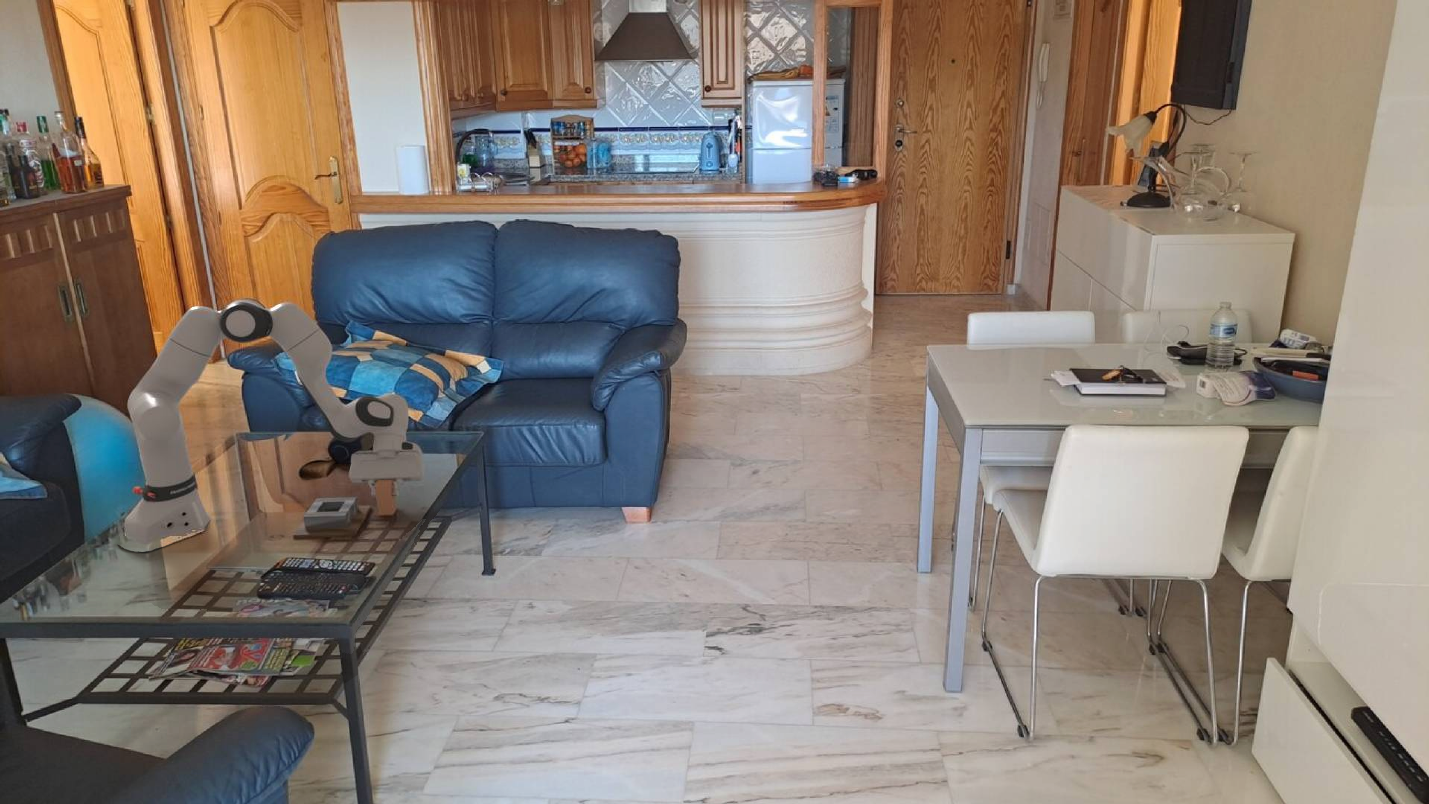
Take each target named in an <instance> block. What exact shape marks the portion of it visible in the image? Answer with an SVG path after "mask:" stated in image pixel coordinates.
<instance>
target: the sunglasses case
mask: <svg viewBox="0 0 1429 804" xmlns="http://www.w3.org/2000/svg"><path fill="white" fill-rule="evenodd" d="M337 464H338V462H336V461H334V460H333V459H332V458H331V457H330V455H329V453H328V447H325V446H324V445H322V446H321V447H320V449H318V450H317V451H316V452H315V453H314V454H313V455H312V456H311V457H310V458H309V459H308V460H307V461H306V462H305V463H304V464H303V465H302V466H301V467H300V469H299V470H298V476H299V477H300V479H308V478H309V479H310V478H314V479H315V478H327V477H328V475H329V473H330V472H331V471H332V470H333V469H334V468H335V466H337Z"/></svg>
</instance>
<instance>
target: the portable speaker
mask: <svg viewBox="0 0 1429 804" xmlns="http://www.w3.org/2000/svg"><path fill="white" fill-rule="evenodd" d="M373 443H374V434H373V433H371V432H368V433H366V434H364V435H362V436H361V437H359V438H358V439H356V440H355V441H352V442H343V441H340V440H338V439H336V438H335V437H334V436H333V437H332V438H331V439H330V441H329V442H328V445H327V448H328V453H329V455H330V457H331V458H332V459H333V460H334V461H336V462H338V463H339V464H351V456H352V454H354V453H355V452H357V451H359V450H362V451H366V450H371V449H373ZM338 463H337V464H338Z"/></svg>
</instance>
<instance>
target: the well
mask: <svg viewBox="0 0 1429 804" xmlns="http://www.w3.org/2000/svg"><path fill="white" fill-rule="evenodd" d="M371 510H372V506H371V505H359V501H358V496H352V497H351V496H350V497H349V496H348V497H323V498H322V497H320V498H319V497H318V498H316V499H315V500H314V502H313V503H312V504H311V506H310V507H309V508H308V510H307V511H306V513H305V514H304V515H303V516H302V517H303V521H302V522H301V523H300V524H299V526H298V528H297V529H296V530H295V532H294V533H293V534H292V537H293V539H311V538H312V539H314V538H338V537H339V538H341V537H355V536H357V533H358V531H359V529H360V528H361V526H362V525H363V523H364V521H366V518H367V517H368V514H369V513H370V511H371Z"/></svg>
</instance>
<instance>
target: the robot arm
mask: <svg viewBox="0 0 1429 804" xmlns="http://www.w3.org/2000/svg"><path fill="white" fill-rule="evenodd" d="M267 337H269V338H271V339H272V340H273V341H275V343H277V344H278V345H279V347H280V348H281V349H282V350H283V352H284V353H285V354H286V355H287V356H288V358H289V359H290V361H291V362H292V364H293V366H294V367H295V370H296V374H297V377H298V379H299V381H300V384H301V385H302V386H303V388H304V390H305V391H306V392H307V395H309V397H310V398H311V400H312V402H313V403H314V405H315V406H316V407H317V408H318V410H319V412H320V413H321V415H322V417H323V418H324V421H325V423H326V426H327V429H328V431H329V432H330V434H331V435H332V436H333V437H335V438H336V439H338V440H340V441H343V442H352V441H355V440H356V439H358V438H359V437H361V436H362V435H364V434H366V433H368V432H371V433H373V434H374V443H373V447H372V449H369V450H366V451H362V450H359V451H357V452H355V453H354V454H352V456H351V462H350V468H349V472H348V477H349V480H350V481H351V482H352V483H354V484H366V483H367V484H368V486H369V487H370V489H371V494H370V495H371V497H372V498H376V494H375V487H374V486H375V484H376V483H377V481H378V480H389V479H393V483H397V484H396V486H395V487H394V489H392V496H395V497H399V494H400V491H401V489H402V488H403V486H404V485H405V482H420V481H422V480H424V478H425V473H426V471H425V469H426V468H425V461H424V459H423V458H422V457H423V451H422V448H420V446H419V445H418V444H417V443H415V442H411V441H407V430H408V428H409V405H408V403H407V401H406V399H405V398H404V397H403V396H402V395H399V394H396V393H390V392H389V393H388V392H387V393H383V394H382V395H379V396H378V395H377V396H372V395H362V396H361V397H358V398H356V399H354V400H352V401H351V402H349V403H348V404H345V403H343V402H342V401H341V400H340V398H339V396H338V395H337V394H336V393H335V391H334V389H333V388H332V386H331V384H330V383H329V382H328V379H327V377H326V371H327V368H328V366H329V363H330V362H331V359H332V355H333V345H332V344H331V341H330V339H329V337H328V336H327V335H326V334H325V332H324V331H323V329H321V328H320V326H319V325H318V324H317V323H316V322H315V320H314V319H313V318H311V317H310V315H308V313H307V312H305V311H304V310H303V309H302V308H301V307H300V306H299V305H298V304H296V303H293V302H292V301H291V302H288V301H287V302H286V301H285V302H281V303H279V304H276V305H275V306H273V307H271V308H266V307H265V306H264V304H262V303H261V302H260V301H258V300H256V299H253V298H239V299H236V300H234V301H232V302H230V303H229V304H228V305H226V306H225V307H223V308H221V309H220V310H215V309H213V308H211V307H208V306H202V305H201V306H200V305H197V306H193V307H190V308H189V309H188V310H187V311H186V312H185V313H184V315H183V316H181V318H180V319H179V321H178V322H177V323H176V325H175V326H174V328H173V329H172V331H171V332H170V334H169V335H168V338H167V340H166V341H165V343H164V344H163V346H162V348H161V350H160V352H159V354H158V356H157V357H156V359H155V361H154V362H153V363H152V365H151V366H150V368H149V369H148V370H147V372H146V373H145V374H144V375H143V377H142V378H141V379H140V380H139V382H138V384H137V385H136V386H135V388H133V390H132V391H131V392H130V395H129V397H128V400H127V404H126V405H127V410H128V413H129V415H130V416H129V417H130V420H131V422H132V423H131V424H132V426H133V431H134V435H135V439H136V442H137V447H138V451H139V458H140V461H141V465H142V470H143V474H144V478H145V483H144V484H145V485H144V488H143V487H140V486H137V485H136V486H134V487H133V489H132V493H133V494H135V495H138V496H142V498H141V499H140V501H139V502H138V503H137V505H136V506H134V508H133V509H132V511H131V512H130V513H129V514H128V515H127V516H126V517H125V519H124V534H125V536H126V537H127V538H128V539H130V540H132V541H134V542H138V543H142V544H149V543H151V542H156V541H159V540H161V539H165V538H167V537H169V536H182V537H183V536H187V535H188V534H191V533H196V532H198V531H202V530H205V531H206V526H207V525H208V524H209V523H210V521H211V518H210V516H209V515H208V513H207V511H206V509H205V507H204V505H203V502H202V500H201V498H200V495H199V493H198V492H199V491H198V490H199V489H198V487H199V486H198V483H197V478H196V474H195V472H194V471H193V469H192V465H191V459H190V456H189V452H188V450H189V449H188V447H187V445H188V444H187V439H186V434H185V428H184V427H185V426H184V423H183V422H184V421H183V417H182V416H183V415H182V412H181V409H180V408H179V406H180V403H181V401H182V400H183V399H184V397H185V396H186V394H187V393H188V392H189V391H190V390H191V389H192V387H193V386H194V385H196V384H197V383H198V382H199V380H200V378H201V376H202V375H203V373H204V371H205V369H206V367H207V365H208V364H209V362H210V360H211V359H212V356H213V355H214V353H215V351H216V349H217V348H218V346H219V344H220V343H221V342H222V341H223V340H225V339H228V340H231V341H233V342H235V343H238V344H246V343H248V344H249V343H251V342H255V341H257V340H261V339H264V338H267ZM208 522H209V523H208ZM206 524H207V525H206ZM205 525H206V526H205ZM192 530H196V531H194V532H193V531H192ZM187 533H188V534H187ZM178 538H180V537H178Z"/></svg>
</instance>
